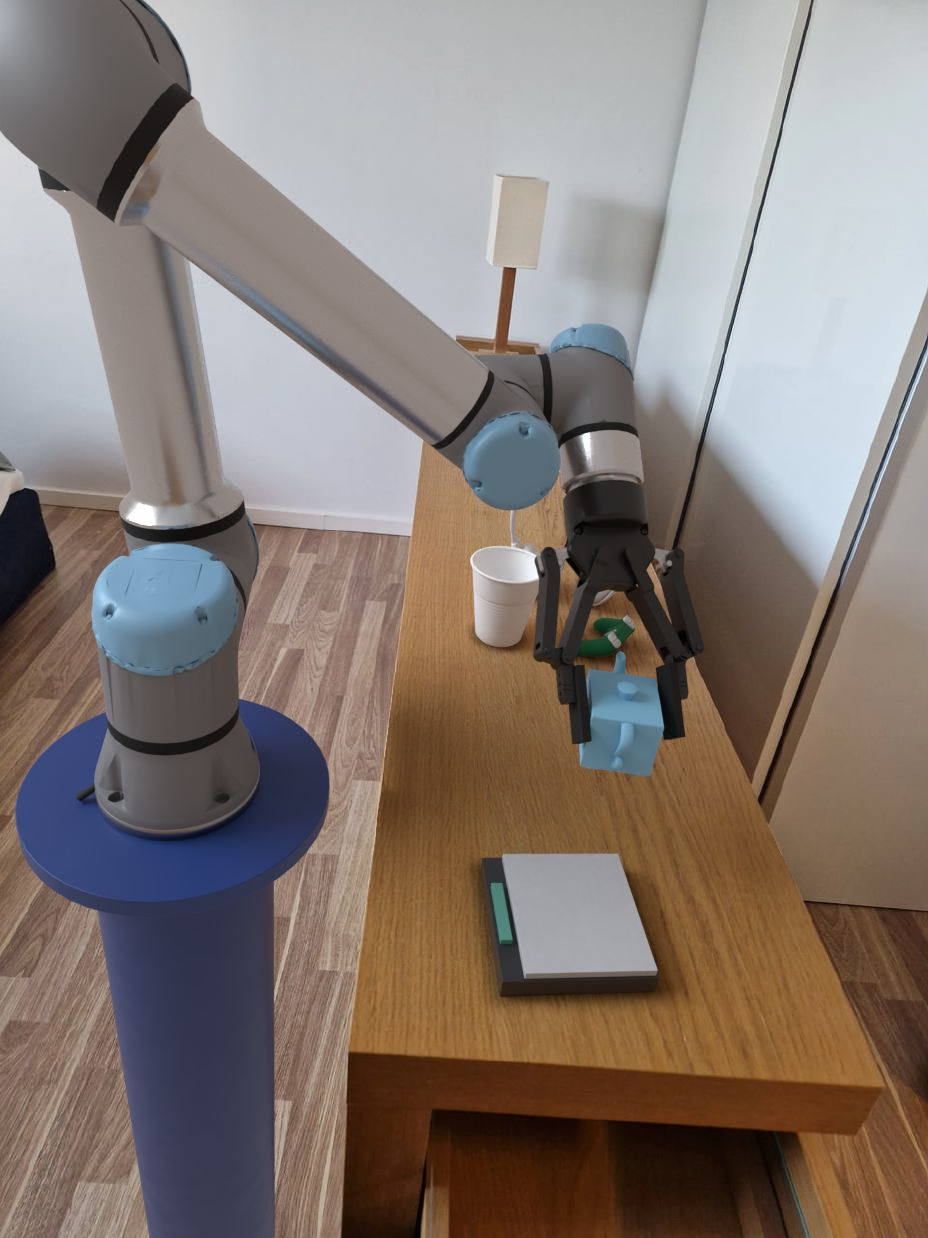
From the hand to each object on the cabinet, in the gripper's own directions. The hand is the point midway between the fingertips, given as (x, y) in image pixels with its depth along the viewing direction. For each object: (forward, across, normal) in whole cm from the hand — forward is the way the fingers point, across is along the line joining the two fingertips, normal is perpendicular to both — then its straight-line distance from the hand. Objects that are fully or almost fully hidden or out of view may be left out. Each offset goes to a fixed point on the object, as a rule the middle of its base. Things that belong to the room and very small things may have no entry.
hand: (628, 740), depth 75 cm
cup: (-17, 0, -39) cm, 43 cm away
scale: (+16, +5, -6) cm, 18 cm away
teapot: (0, 0, -5) cm, 5 cm away
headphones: (-24, -12, -46) cm, 54 cm away
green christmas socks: (-15, -14, -37) cm, 42 cm away
